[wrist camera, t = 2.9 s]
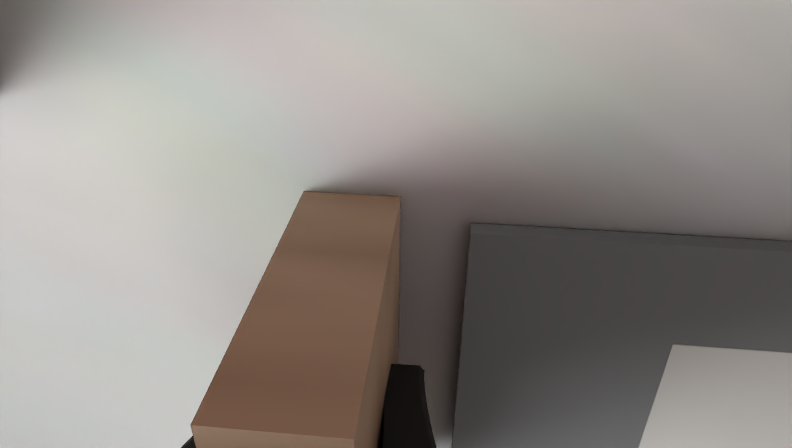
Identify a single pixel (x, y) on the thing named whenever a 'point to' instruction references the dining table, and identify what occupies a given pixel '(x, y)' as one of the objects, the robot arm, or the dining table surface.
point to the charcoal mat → (624, 341)
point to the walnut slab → (314, 334)
